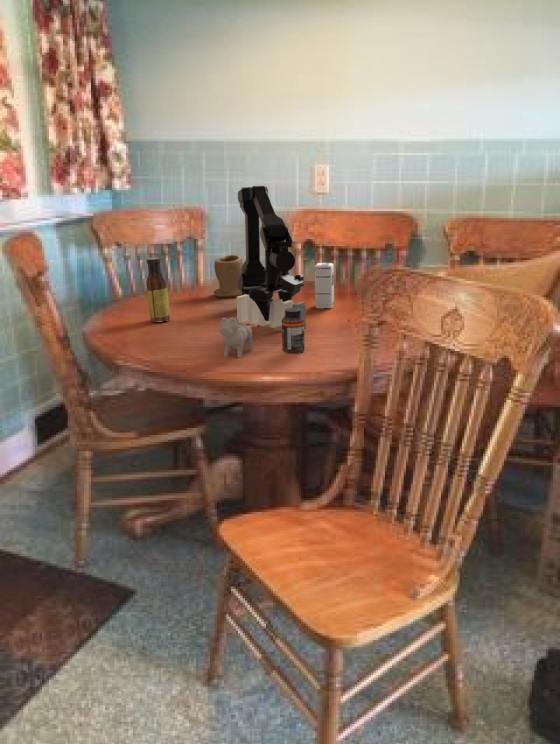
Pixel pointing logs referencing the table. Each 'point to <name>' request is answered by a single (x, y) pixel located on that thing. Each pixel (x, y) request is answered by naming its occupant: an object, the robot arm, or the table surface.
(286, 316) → the supplement bottle
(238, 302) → the domino
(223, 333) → the grey animal figure
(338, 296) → the table surface
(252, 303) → the domino
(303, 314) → the domino
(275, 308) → the domino
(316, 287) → the syrup box
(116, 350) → the table surface
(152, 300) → the sauce bottle
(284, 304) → the domino
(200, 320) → the table surface
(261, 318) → the domino
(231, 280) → the stone cup
